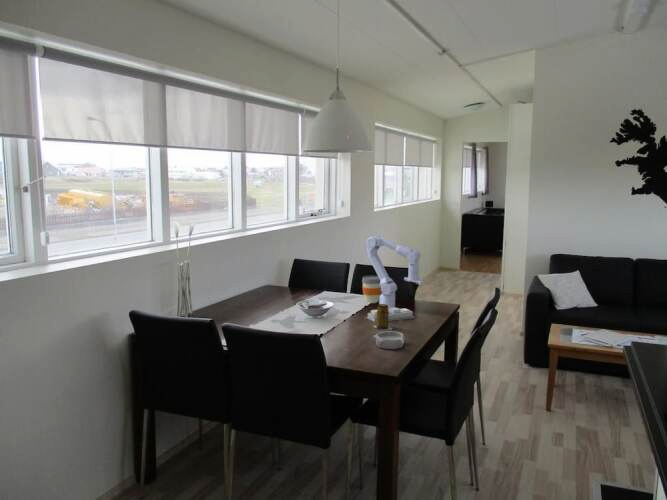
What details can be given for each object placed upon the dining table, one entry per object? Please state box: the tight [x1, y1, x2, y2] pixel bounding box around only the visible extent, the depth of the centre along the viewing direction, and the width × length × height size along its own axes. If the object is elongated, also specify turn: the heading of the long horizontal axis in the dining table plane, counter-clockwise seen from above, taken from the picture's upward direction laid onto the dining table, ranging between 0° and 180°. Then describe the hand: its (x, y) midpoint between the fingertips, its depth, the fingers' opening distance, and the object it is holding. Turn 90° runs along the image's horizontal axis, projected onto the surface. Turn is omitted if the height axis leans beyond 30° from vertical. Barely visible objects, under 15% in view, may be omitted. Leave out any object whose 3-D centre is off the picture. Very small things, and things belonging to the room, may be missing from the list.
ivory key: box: [400, 307, 411, 312], centre depth 304 cm, size 4×4×3 cm
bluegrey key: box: [390, 307, 402, 314], centre depth 301 cm, size 4×4×3 cm
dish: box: [372, 330, 405, 350], centre depth 253 cm, size 14×14×5 cm
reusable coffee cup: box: [361, 275, 382, 304], centre depth 337 cm, size 13×13×15 cm
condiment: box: [372, 303, 393, 331], centre depth 280 cm, size 7×8×12 cm
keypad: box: [364, 310, 417, 324], centre depth 300 cm, size 12×26×3 cm, turn 117°
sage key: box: [370, 309, 378, 316], centre depth 296 cm, size 4×4×3 cm
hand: (413, 295), depth 310 cm, fingers closed
